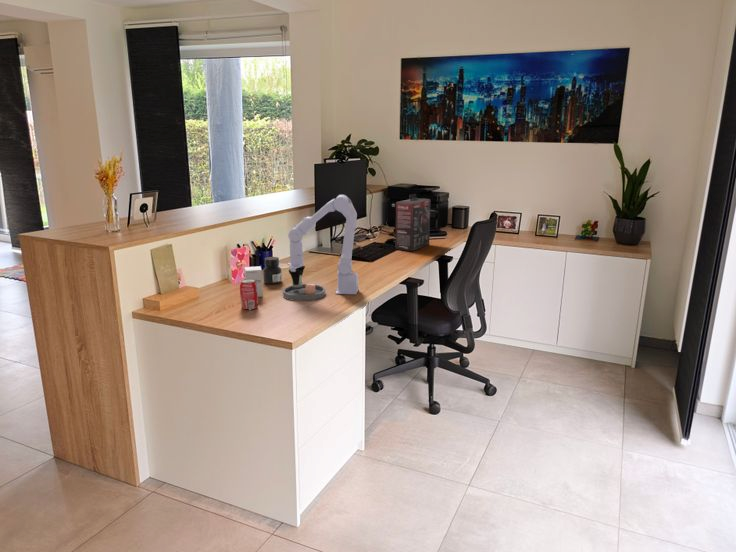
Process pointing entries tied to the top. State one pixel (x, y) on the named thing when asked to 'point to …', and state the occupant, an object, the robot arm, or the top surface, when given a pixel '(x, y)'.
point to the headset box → (412, 223)
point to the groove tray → (303, 293)
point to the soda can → (248, 294)
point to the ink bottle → (272, 271)
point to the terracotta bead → (310, 289)
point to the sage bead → (299, 282)
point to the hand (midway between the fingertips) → (297, 283)
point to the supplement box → (255, 277)
